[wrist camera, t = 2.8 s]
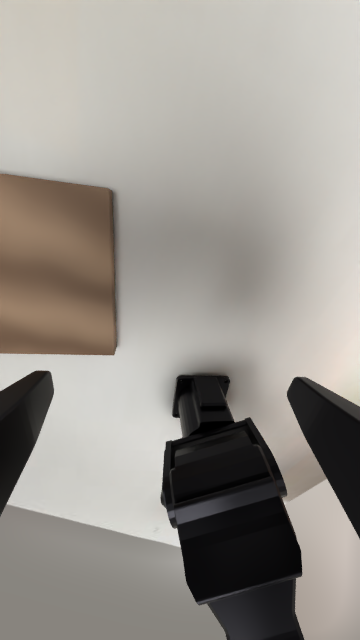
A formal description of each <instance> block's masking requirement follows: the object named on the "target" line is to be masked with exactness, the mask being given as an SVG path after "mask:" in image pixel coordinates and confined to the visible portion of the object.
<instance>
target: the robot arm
mask: <svg viewBox="0 0 360 640" xmlns="http://www.w3.org/2000/svg"><path fill="white" fill-rule="evenodd" d="M180 380H182V381H180ZM225 380H226V381H225ZM229 383H230V380H229V378H228V377H227V376H179V377H178V378H177V379H176V387H175V394H174V402H173V410H172V415H173V417H175V418H180V422H181V429H182V436H183V438H181V439H177V440H174V441H172V440H170V441H167V442H166V450H165V451H164V467H163V482H162V492H161V503H162V505H163V506H164V507H165V508H166V509H167V513H168V517H169V520H170V523H171V525H172V527H173V528H174V529H175V528H177V529H178V534H179V540H180V545H181V550H182V556H183V561H184V569H185V576H186V582H187V585H188V587H189V589H190V591H191V593H192V595H193V597H194V599H195V601H196V602H197V604H198V605H202V604H206V603H207V604H208V606H209V607H210V609H211V610H212V612H213V613H214V615H215V617H216V618H217V620H218V621H219V623H220V624H221V626H222V627H223V629H224V631H225V633H226V637H227V640H304V638H303V634H302V632H301V629H300V626H299V623H298V620H297V617H296V614H295V588H296V578H298V577H301V576H302V560H301V550H300V546H299V544H298V542H297V539H296V535H295V532H294V529H293V526H292V524H291V521H290V518H289V516H288V514H287V511H286V508H285V505H284V503H283V500H282V497H286V496H287V490H286V487H285V483H284V480H283V477H282V475H281V472H280V470H279V467H278V465H277V463H276V461H275V458H274V456H273V454H272V452H271V451H270V449H269V447H268V445H267V444H266V442H265V441H264V439H263V437H262V436H261V434H260V433H259V431H258V429H257V428H256V426H255V424H254V423H253V421H252V420H251V418H250V417H249V418H245V420H242V421H239V422H234V419H233V417H232V414H231V412H230V409H229V407H228V404H227V401H226V399H225V398H226V394H227V390H228V387H229ZM53 395H54V387H53V381H52V375H51V373H50V372H49V371H34V372H32V373H31V374H29V375H27V376H26V377H24V378H22V379H21V380H19V381H17V382H15V383H14V384H12V385H10V386H9V387H7V388H5V389H4V390H2V391H0V516H1V514H2V512H3V510H4V507H5V506H6V504H7V502H8V500H9V498H10V496H11V494H12V491H13V489H14V487H15V485H16V483H17V481H18V479H19V477H20V475H21V473H22V471H23V469H24V467H25V465H26V463H27V461H28V459H29V457H30V455H31V453H32V450H33V448H34V446H35V444H36V441H37V439H38V436H39V434H40V431H41V428H42V425H43V423H44V420H45V417H46V414H47V412H48V409H49V406H50V404H51V401H52V398H53ZM287 398H288V400H289V402H290V405H291V407H292V409H293V412H294V414H295V416H296V418H297V421H298V423H299V425H300V428H301V430H302V432H303V434H304V436H305V438H306V440H307V442H308V444H309V446H310V448H311V449H312V451H313V453H314V455H315V457H316V459H317V461H318V462H319V464H320V466H321V468H322V470H323V472H324V473H325V475H326V477H327V479H328V481H329V483H330V485H331V486H332V488H333V490H334V492H335V494H336V496H337V497H338V499H339V501H340V503H341V505H342V507H343V508H344V510H345V512H346V514H347V516H348V518H349V519H350V521H351V523H352V525H353V527H354V529H355V531H356V532H357V534H358V536H359V538H360V407H359V406H357V405H356V404H354V403H352V402H350V401H348V400H347V399H345V398H343V397H341V396H339V395H337V394H336V393H334V392H332V391H330V390H328V389H327V388H325V387H323V386H321V385H319V384H317V383H316V382H314V381H312V380H310V379H308V378H306V377H295V378H294V379H293V381H292V383H291V385H290V387H289V389H288V391H287ZM176 413H177V414H176Z"/></svg>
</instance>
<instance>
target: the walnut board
mask: <svg viewBox="0 0 360 640" xmlns="http://www.w3.org/2000/svg"><path fill="white" fill-rule="evenodd" d="M116 347H117V345H116V310H115V275H114V240H113V205H112V191H111V190H110V189H108V188H101V187H94V186H87V185H79V184H72V183H65V182H58V181H50V180H43V179H36V178H29V177H21V176H14V175H7V174H0V353H10V354H71V355H114V354H115V351H116Z"/></svg>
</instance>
